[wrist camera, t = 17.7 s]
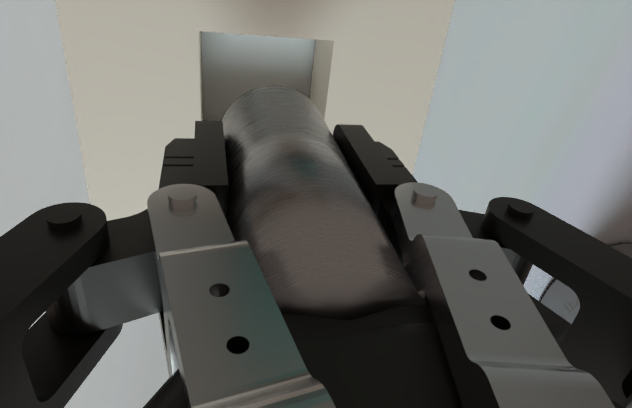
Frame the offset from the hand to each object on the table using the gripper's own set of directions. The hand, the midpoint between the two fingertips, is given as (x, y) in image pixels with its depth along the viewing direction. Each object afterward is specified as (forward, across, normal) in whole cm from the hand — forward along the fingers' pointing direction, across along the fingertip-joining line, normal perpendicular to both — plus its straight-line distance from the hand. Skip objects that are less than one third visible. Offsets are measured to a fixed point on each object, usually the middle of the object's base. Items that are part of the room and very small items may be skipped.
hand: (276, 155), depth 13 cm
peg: (+1, 0, 0) cm, 1 cm away
